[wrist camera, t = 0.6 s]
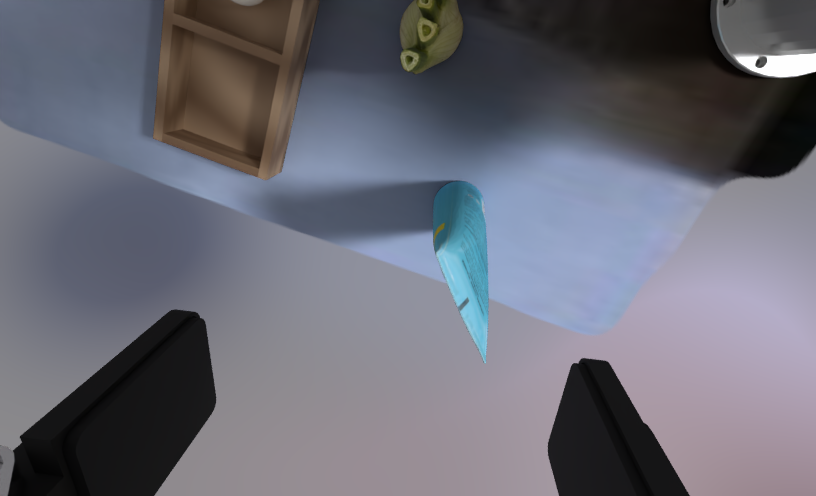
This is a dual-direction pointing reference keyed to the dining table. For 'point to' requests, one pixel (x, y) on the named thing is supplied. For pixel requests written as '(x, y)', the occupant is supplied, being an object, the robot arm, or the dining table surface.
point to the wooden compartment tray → (232, 79)
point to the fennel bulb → (429, 33)
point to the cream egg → (247, 2)
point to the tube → (464, 254)
